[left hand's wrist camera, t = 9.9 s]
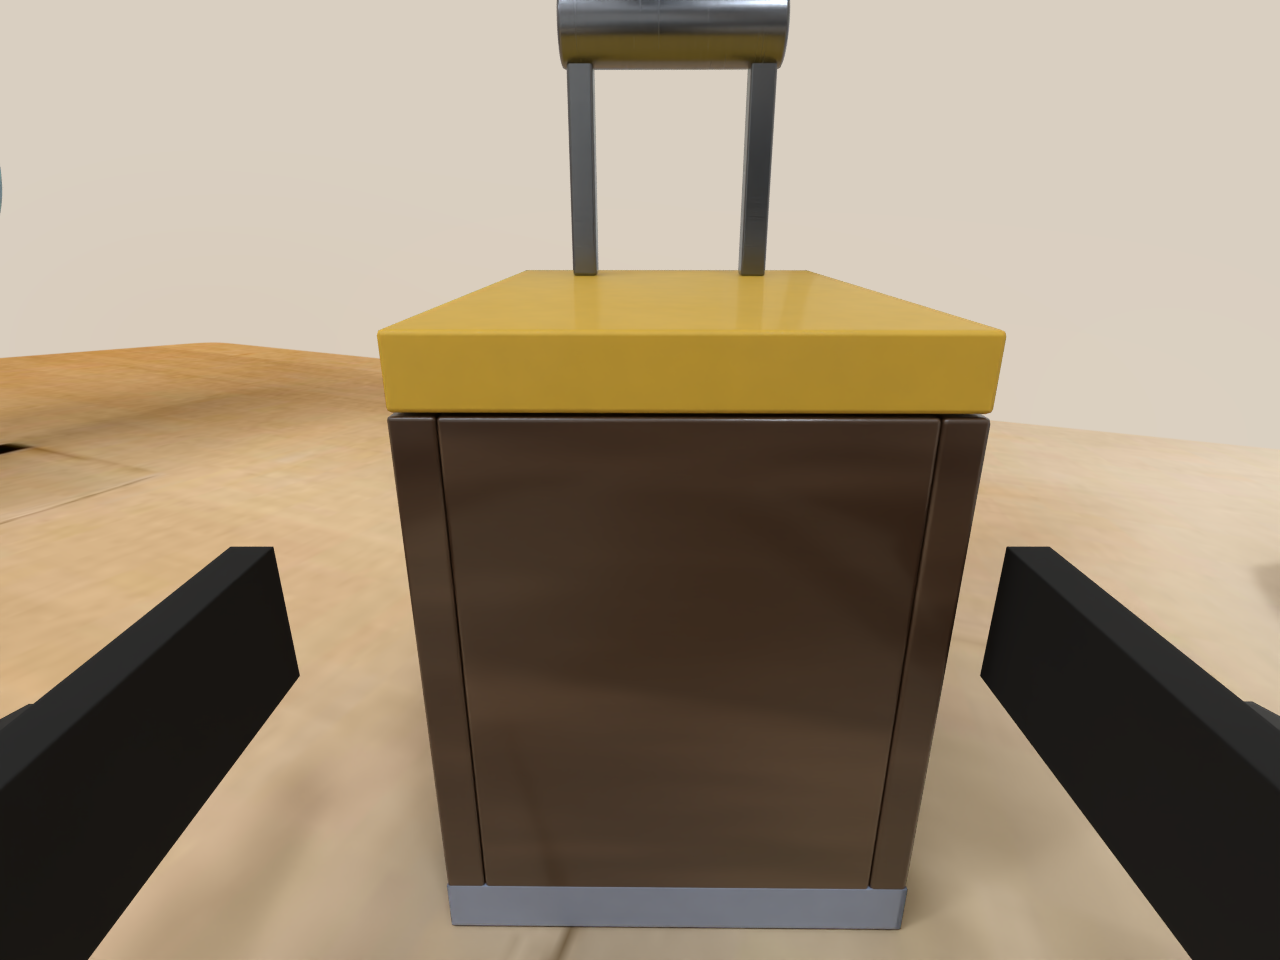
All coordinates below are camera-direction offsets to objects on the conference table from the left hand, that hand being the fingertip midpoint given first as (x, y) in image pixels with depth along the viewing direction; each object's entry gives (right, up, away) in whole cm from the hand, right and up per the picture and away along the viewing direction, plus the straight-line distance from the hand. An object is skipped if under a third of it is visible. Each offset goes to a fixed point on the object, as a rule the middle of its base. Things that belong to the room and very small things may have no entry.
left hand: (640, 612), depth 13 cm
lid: (+1, +6, +4) cm, 7 cm away
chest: (+1, -5, +8) cm, 9 cm away
